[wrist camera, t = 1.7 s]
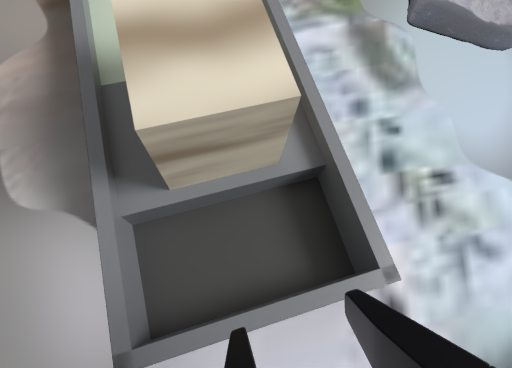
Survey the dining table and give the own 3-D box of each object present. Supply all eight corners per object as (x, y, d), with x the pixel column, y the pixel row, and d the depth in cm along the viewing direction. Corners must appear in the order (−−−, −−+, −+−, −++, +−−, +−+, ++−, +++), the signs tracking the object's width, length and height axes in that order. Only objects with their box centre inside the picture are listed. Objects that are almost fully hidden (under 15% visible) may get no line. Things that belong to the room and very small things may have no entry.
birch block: (278, 163, 22) (301, 95, 15) (170, 190, 21) (134, 130, 13) (241, 59, 25) (245, -39, 18) (146, 77, 24) (107, -22, 17)
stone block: (403, -13, 38) (401, 28, 32) (427, -58, 34) (430, -21, 28) (492, 18, 38) (506, 63, 32) (528, -24, 33) (550, 20, 28)
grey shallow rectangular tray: (369, 283, 22) (401, 279, 18) (139, 360, 20) (114, 377, 15) (236, -47, 35) (237, -94, 30) (82, -29, 32) (60, -78, 28)
